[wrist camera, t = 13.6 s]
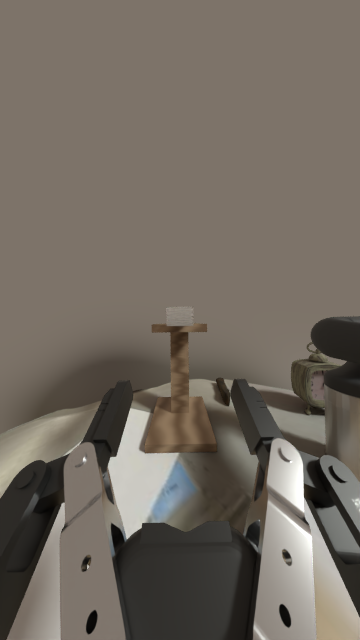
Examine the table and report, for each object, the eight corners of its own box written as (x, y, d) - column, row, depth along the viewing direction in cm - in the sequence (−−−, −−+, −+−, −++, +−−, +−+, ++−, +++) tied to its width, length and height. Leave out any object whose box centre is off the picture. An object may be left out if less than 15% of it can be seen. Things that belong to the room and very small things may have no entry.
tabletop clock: (305, 417, 47) (303, 342, 47) (288, 402, 56) (287, 339, 56) (356, 421, 45) (353, 343, 45) (330, 404, 54) (328, 339, 54)
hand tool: (216, 384, 72) (215, 375, 72) (224, 385, 72) (223, 376, 72) (221, 407, 54) (220, 394, 54) (231, 407, 53) (231, 395, 53)
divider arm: (188, 323, 51) (188, 309, 51) (206, 325, 18) (205, 287, 18) (169, 323, 51) (169, 310, 51) (153, 326, 18) (153, 288, 18)
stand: (202, 401, 57) (200, 323, 57) (216, 451, 35) (214, 323, 35) (158, 402, 57) (157, 323, 57) (144, 453, 35) (143, 324, 35)
